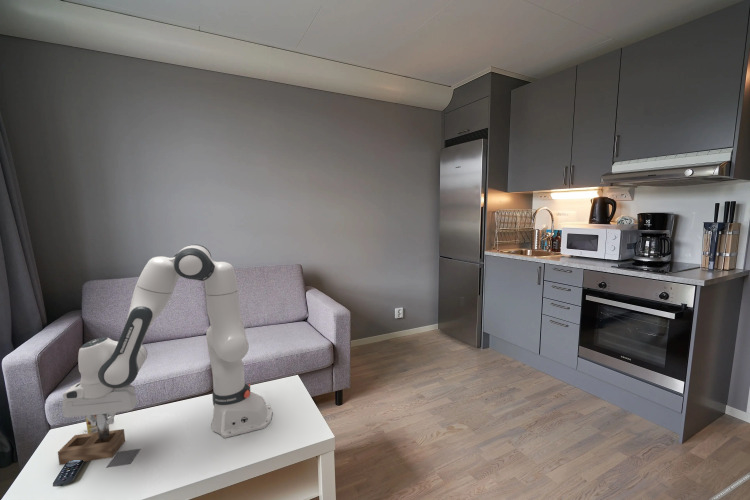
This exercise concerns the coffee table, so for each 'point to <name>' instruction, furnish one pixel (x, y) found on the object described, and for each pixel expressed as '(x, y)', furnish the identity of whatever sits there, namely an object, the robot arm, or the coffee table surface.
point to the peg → (102, 426)
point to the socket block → (91, 447)
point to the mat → (123, 458)
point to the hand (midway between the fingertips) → (103, 424)
